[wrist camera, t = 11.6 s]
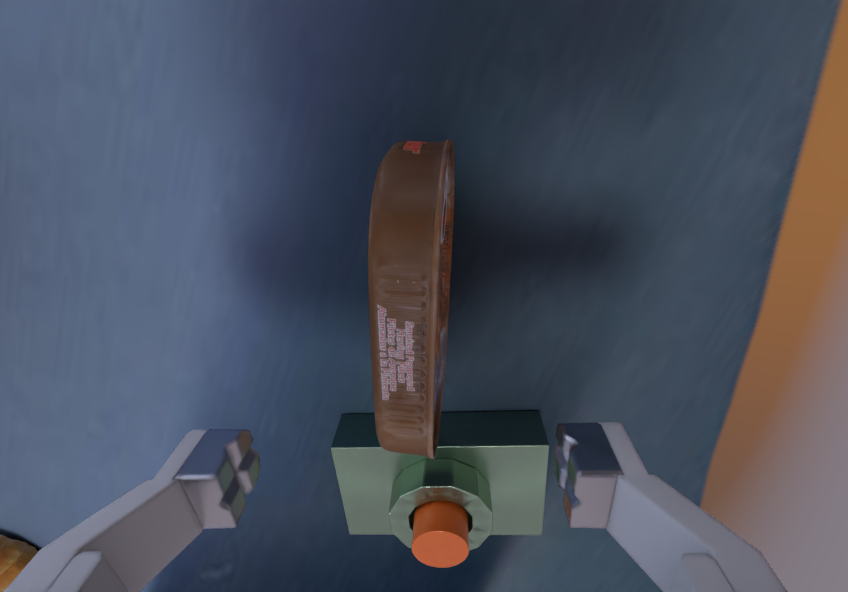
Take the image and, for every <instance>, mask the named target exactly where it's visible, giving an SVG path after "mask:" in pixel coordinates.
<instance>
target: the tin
mask: <svg viewBox="0 0 848 592" xmlns="http://www.w3.org/2000/svg"><path fill="white" fill-rule="evenodd" d="M454 188H455V164H454V148H453V142H452V140H450V139H449V140H446V141H445V142H422V141H400V142H397V143H395V144H394V145H393V146H392V148H391V149H390V150H389V152H388V153H387V154H386V155H385V157H384V158H383V160H382V161H381V164H380V166H379V168H378V172H377V176H376V179H375V185H374V190H373V196H372V202H371V211H370V221H369V238H368V283H369V312H370V336H371V355H372V376H373V395H374V410H375V424H376V432H377V437H378V441H379V443H380V445H381V447H382V448H383V449H385V450H387V451H390V452H396V453H403V454H412V455H421V456H428V457H429V458H430V459H434V458H435V455H436V450H437V443H438V436H439V428H440V418H441V408H442V397H443V388H444V380H445V371H446V355H447V335H448V317H449V297H450V278H451V259H452V241H453V218H454Z"/></svg>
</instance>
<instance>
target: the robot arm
mask: <svg viewBox="0 0 848 592" xmlns="http://www.w3.org/2000/svg"><path fill="white" fill-rule="evenodd" d="M556 437H557V441H558V445H557V446H556V447H555V448H554V468H555V474H556V478H557V482H558V486H559V487H560V488H561V489H562V490H563V491H564V498H563V504H564V507H565V511H566V514H567V517H568V521H569V524H570V527H577V528H607V531H608V532H609V533H610V534H611V535H612V536H613V538H614V539H615V540H616V541H617V542H618V543H619V544H620V545H621V546H622V547H623V548H624V550H625V551H626V552H627V553H628V554H629V555H630V556H631V557H632V558H633V559H634V560H635V562H636V563H637V564H638V565H639V566H640V567H641V568H642V569H643V570H644V571H645V572H646V574H647V575H648V576H649V577H650V578H651V579H652V580H653V581H654V582H655V583H656V584H657V586H658V587H659V588H660V589H661V590H662V591H663V592H787V590H786V589H785V587H784V586H783V584H782V583H781V582H780V580H779V578H778V577H777V576H776V574H775V572H774V571H773V569H772V568H771V567H770V565H769V563H768V562H767V560H766V559H765V558H764V556H763V555H762V553H761V552H760V551H759V550H757V549H756V548H755V547H753V546H752V545H751V544H749V543H748V542H746V541H745V540H743V539H742V538H741V537H740V536H738V535H737V534H735V533H734V532H733V531H731V530H730V529H729V528H727V527H726V526H724V525H723V524H722V523H720V522H719V521H718V520H716V519H715V518H713V517H712V516H711V515H709V514H708V513H707V512H705V511H704V510H703V509H701V508H700V507H698V506H697V505H696V504H694V503H693V502H692V501H690V500H689V499H687V498H686V497H685V496H683V495H682V494H681V493H679V492H678V491H676V490H675V489H674V488H672V487H671V486H670V485H668V484H667V483H665V482H664V481H663V480H661V479H660V478H659V477H657V476H656V475H649V474H648V472H647V470H646V469H645V467H644V465H643V463H642V461H641V459H640V457H639V455H638V453H637V451H636V450H635V448H634V446H633V444H632V442H631V440H630V438H629V436H628V434H627V433H626V431H625V429H624V427H623V425H622V424H621V423H620V422H599V423H562V424H558V425H557V429H556ZM252 441H253V438H252V435H251V433H250V431H249V430H241V429H210V430H196V429H193V430H191V431H190V432H188V433H187V434H186V435H185V436H184V438H183V439H182V440H181V442H180V443H179V444H178V446H177V447H176V449H175V450H174V451H173V453H172V454H171V455H170V457H169V458H168V459H167V461H166V462H165V463H164V465H163V466H162V467H161V469H160V470H159V472H158V473H157V474H156V476H155V477H154V478H153V480H146V481H144V482H143V483H141V484H140V485H138V486H137V487H135V488H134V489H132V490H130V491H129V492H127V493H126V494H124V495H123V496H121V497H120V498H118V499H117V500H115V501H114V502H112V503H111V504H109V505H107V506H106V507H104V508H103V509H101V510H100V511H98V512H97V513H95V514H94V515H92V516H91V517H89V518H88V519H86V520H84V521H83V522H81V523H80V524H78V525H77V526H75V527H74V528H72V529H71V530H69V531H68V532H66V533H65V534H63V535H61V536H60V537H58V538H57V539H55V540H54V541H52V542H51V543H49V544H48V545H46V546H45V547H43V548H42V549H40V550H39V552H38V553H37V554H36V555H35V556H34V557H33V559H32V560H31V561H30V562H29V563H28V564H27V565H26V567H25V568H24V569H23V570H22V571H21V572H20V574H19V575H18V576H17V577H16V578H15V579H14V580H13V582H12V583H11V584H10V585H9V586H8V587H7V589H6V590H5V591H4V592H140V591H141V590H142V589H143V588H144V587H145V586H146V585H147V584H148V583H149V582H150V581H151V580H152V579H153V578H154V577H155V576H156V575H157V574H158V573H159V572H160V571H161V570H163V569H164V568H165V567H166V566H167V565H168V564H169V563H170V562H171V561H172V560H173V559H174V558H175V557H176V556H177V555H178V554H179V553H180V552H181V551H182V550H183V549H184V548H185V547H186V546H187V545H188V544H190V543H191V542H192V541H193V540H194V539H195V538H196V537H197V536H198V535H199V534H200V533H201V532H202V531H203V529H206V528H235V527H236V525H237V523H238V521H239V519H240V517H241V515H242V513H243V510H244V508H245V506H246V504H247V503H246V500H245V495H246V494H248V493H249V492H250V491H251V490H253V489H254V487H255V485H256V482H257V480H258V477H259V472H260V458H259V455H258V452H257V451H256V450H254V449H253V448H252V447H251V446H250V445H251V443H252Z"/></svg>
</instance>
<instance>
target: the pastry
mask: <svg viewBox="0 0 848 592" xmlns="http://www.w3.org/2000/svg"><path fill="white" fill-rule="evenodd" d="M35 548H36V547H32V546H31V545H29V544H28V543H26V542H25V541H24V542H22V541H19V540H13V539H10V538H7V537H5V536H4V535H1V534H0V592H4V591H5V590H6V589H7V587H8V586H9V585H10V584H11V583H12V582H13V580H14V579H15V578H16V577H17V576H18V575H19V574H20V572H21V571H22V570H23V569H24V568H25V567H26V565H27V564H28V563H29V562H30V561H31V560H32V559H33V557H34V556H35V555H36V554H37V553H38V552H39V551H37V550H36V549H35Z"/></svg>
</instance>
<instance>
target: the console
mask: <svg viewBox="0 0 848 592" xmlns="http://www.w3.org/2000/svg"><path fill="white" fill-rule="evenodd" d="M331 451H332V456H333V461H334V465H335V470H336V474H337V479H338V483H339V488H340V492H341V497H342V501H343V506H344V510H345V515H346V519H347V524H348V528H349V533H350V534H394V535H395V536H396V537H397V538H398V539H399V540H400V541H401V542H403V543H404V544H405V545H406V546H407V547H409V548H412V536H413V523H414V513H415V511H416V509H417V508H418V506H419V505H422V504H424V503H426V502H429V501H450V502H453V503H456V504H458V505H461V506H462V507H463V508H464V509H465V511H466V513H467V517H468V536H469V550H472V549H475V548H477V547H479V546H480V545H481V544H482V543H483V542H484V540H485V539H486V538H487V537H488V536H489V535H542V528H543V516H544V503H545V491H546V479H547V467H548V454H549V443H548V440H547V436H546V433H545V429H544V426H543V422H542V419H541V415H540V412H539V411H496V412H441V418H440V428H439V436H438V443H437V450H436V455H435V458H434V459H430V458H429V457H428V456H421V455H412V454H403V453H396V452H390V451H387V450H385V449H383V448H382V447H381V445H380V443H379V441H378V437H377V432H376V424H375V414H342V416H341V419H340V422H339V425H338V428H337V431H336V434H335V437H334V440H333V443H332V446H331Z"/></svg>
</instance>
